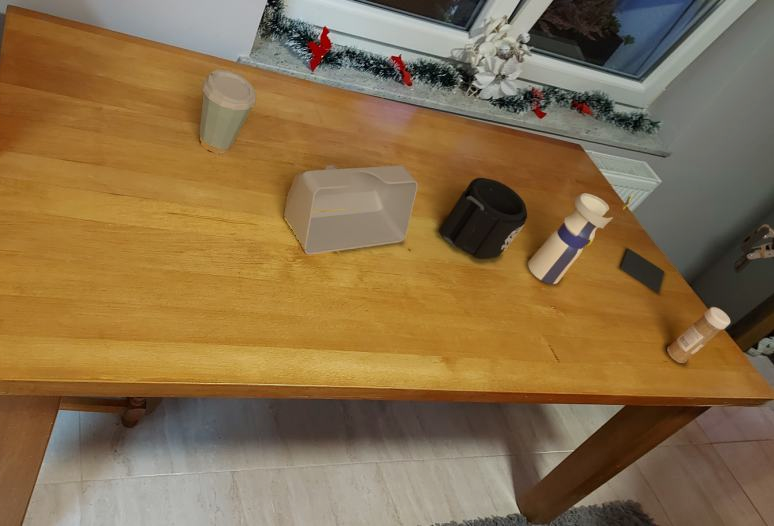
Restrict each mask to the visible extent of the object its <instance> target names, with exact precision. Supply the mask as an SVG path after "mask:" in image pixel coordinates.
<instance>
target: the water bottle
mask: <svg viewBox="0 0 774 526" xmlns="http://www.w3.org/2000/svg"><path fill="white" fill-rule="evenodd" d="M632 198H633V194H631V195H630V196H629V195H628V197H627V198H626V200H625V202H624V203H623V204H622V206H623V207H622V211H624V210H625V208H626V207H627V206H628V205H630V201H631V200H632ZM573 202H574V206H575V208H574V209H575V210H574V211H573V212H572V213H571V214H570V215H567V216H565V217H564V219H563V223H562V224H561V225H560V227H559V228H558V229H556V230H554V231H553V232H552V233H551V234H550V235H549V237H548V238H547V239H546V240H545V242H544V243H543V244H542V245H541V246H540V248H539V249H538V250H537V251H536V252H535V253H534V254H533V255H532V256H531V258H530V259H529V260H528V262H527V265H528V266H527V267H528V269H529V271H530V272H531V273H532V274H533V276H534V277H536V278H537V279H538V280H540V281H542V282H543V283H546V284H549V285H556V284H558V283H559V282H560V280H561V279H562V278H563V276H564V275H565V274H566V272H567V271H568V270H569V268H571V266H572V265H573V264H574V263H575V262H576V260H577V259H578V258H579V256H580V255H581V254H582V252H583V250H584V248H585V247H586V248H587V247H590V245H591V244H592V243H593V241H594V239H595V237H596V231H597V230H598V229H599V228H600V229H604V228H605V227H606V226H607V224H609V222H611V221H612V220H613V219H614V217H604V215H606V213H607V212H608V211H609V210H610V206H609V204H608V203H607V202H606V201H605V200H603V198H600V197H598V196H596V195H594V194H591V193H581V194H579V195H577V196H576V197H575V198H574V199H573Z"/></svg>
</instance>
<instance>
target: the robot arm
mask: <svg viewBox="0 0 774 526" xmlns="http://www.w3.org/2000/svg"><path fill="white" fill-rule="evenodd" d="M769 238H772V241H771V242H767V243H764V244H761V245H759V246H755V247H753V246H754V245H756V244H757V243H759V241H761V240H762V239H764V240H766V239H769ZM740 250H741V252H743V253H742V255H741V256H740V257H739V258H738V259H737V260H736V261H735V262H734V264H733V272H734V273H735V274H740V273H741V272H742V271H743V270H745V268H746V267H747V266H748V265H749V264H750V263H752V261H753V260H755V259H761V258H763V259H767V258H773V259H774V229H773V228H772V227H770V224H769V223H768V222H763V223H761V224H760V225H759V226H758V227H757V228H756V229H754V230H753V231H752V232H751V233H750V234H748V235H747V236H746V237H745V238H744V239H742V240H741V242H740Z"/></svg>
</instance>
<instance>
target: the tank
mask: <svg viewBox="0 0 774 526" xmlns="http://www.w3.org/2000/svg"><path fill="white" fill-rule="evenodd" d="M418 188H419V183H418V182H417V180H416V179H415V178H414V177H413V176H412V174H411V173H410V172H409V171H408V170H407V168H406V167H405V166H404V165H388V166H386V165H385V166H370V167H369V166H367V167H350V168H337V167H336V166H335V165H334V164H330V165H327V166H326V167H325V168H324V169H316V170H315V169H314V170H307V171H301V172H298V173H296V175H295V176H294V179H293V181H292V184H291V186H290V189H289V191H288V193H287V196H286V197H287V198H286V203H285V209H284V214H283V217H284V216H285V218H286V219H287V221H288V223H289V224H290V225H291V227H292V229H293V230H294V232H295V234H296V235H297V237H298V239H299V240H300V242H301V244H302V245H301V244H300V242H299V241H298V239H297V238H296V236H295V234H294V233H293V231H292V230H291V228H290V227H289V225H288V223H287V222H286V220H285V219H284V218H283V220H284V221H285V223H286V225H287V226H288V227H289V229H290V231H291V232H292V234H293V235H294V237H295V238H296V240H297V242H298V243H299V245H300V247H301V248H302V249H303V247H304V249H306V250H304V249H303V251H304V253H305V254H306V255H309V256H311V255H317V254H318V255H319V254H325V253H331V252H339V251H346V250H352V249H353V250H354V249H360V248H369V247H375V246H382V245H389V244H396V243H401V242H403V241H404V240H405V238H406V237H407V234H408V231H409V227H410V222H411V219H412V218H411V217H412V213H413V208H414V204H415V200H416V197H417V192H418ZM353 208H356V209H353ZM335 209H336V211H325V212H315V213H312V211H315V210H316V211H318V210H319V211H321V210H322V211H324V210H335ZM337 209H346V210H337ZM302 246H303V247H302Z"/></svg>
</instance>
